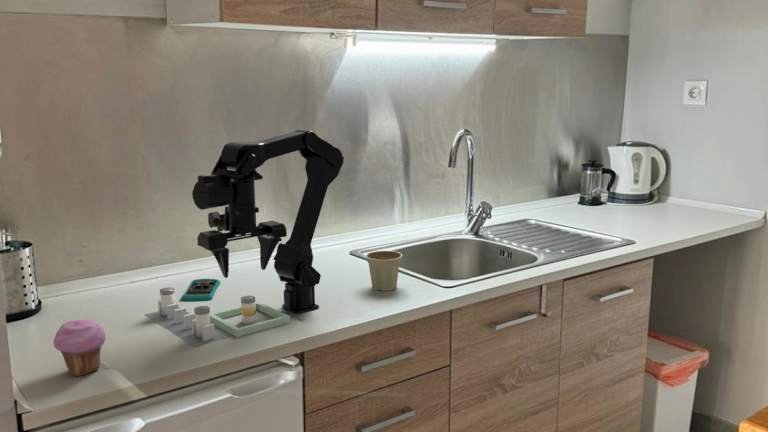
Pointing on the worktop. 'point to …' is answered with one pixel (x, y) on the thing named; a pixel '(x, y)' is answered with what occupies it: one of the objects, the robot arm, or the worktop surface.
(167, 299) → the fuse left
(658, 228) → the worktop surface
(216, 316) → the tray
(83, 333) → the cupcake
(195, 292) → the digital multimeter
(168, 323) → the fuse panel
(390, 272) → the flower pot
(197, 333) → the fuse right
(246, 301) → the fuse marked
